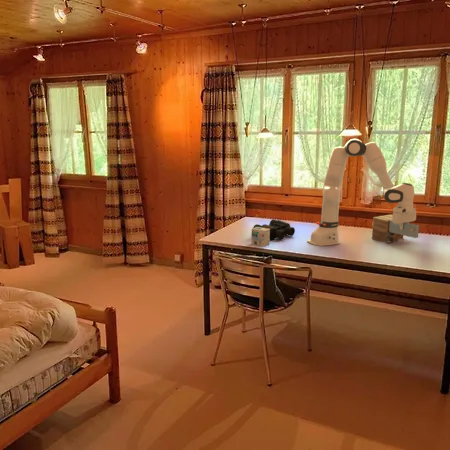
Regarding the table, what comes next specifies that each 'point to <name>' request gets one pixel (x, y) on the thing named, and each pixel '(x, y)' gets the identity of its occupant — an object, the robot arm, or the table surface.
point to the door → (405, 229)
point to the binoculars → (278, 229)
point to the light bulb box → (260, 236)
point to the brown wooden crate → (384, 229)
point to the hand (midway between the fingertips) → (403, 229)
